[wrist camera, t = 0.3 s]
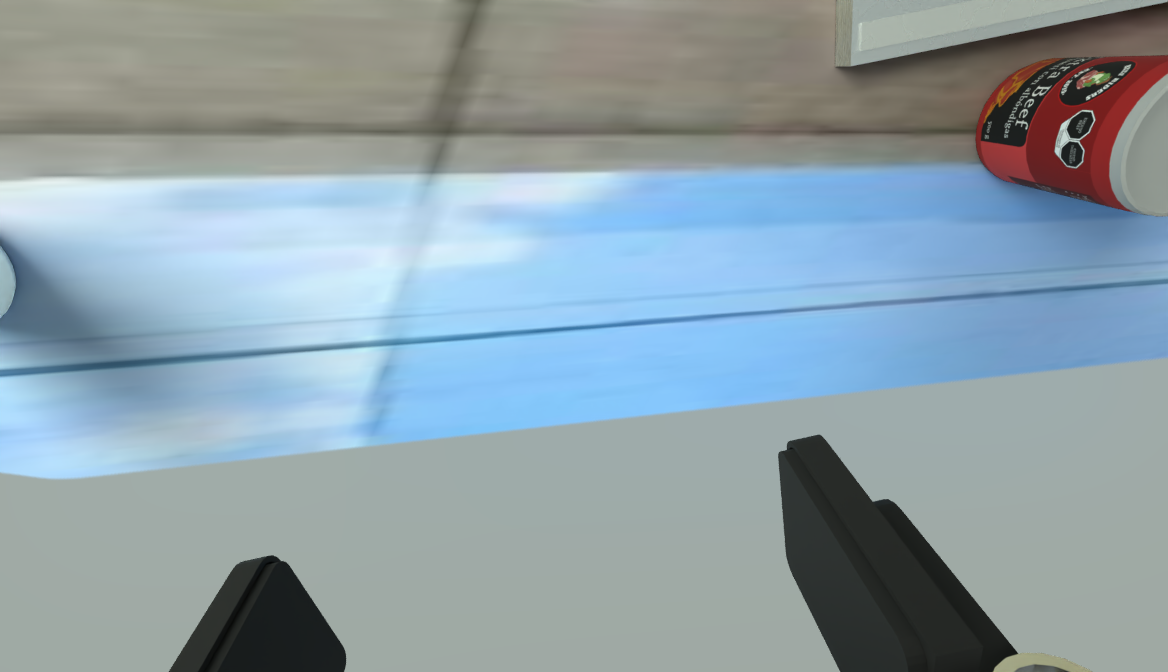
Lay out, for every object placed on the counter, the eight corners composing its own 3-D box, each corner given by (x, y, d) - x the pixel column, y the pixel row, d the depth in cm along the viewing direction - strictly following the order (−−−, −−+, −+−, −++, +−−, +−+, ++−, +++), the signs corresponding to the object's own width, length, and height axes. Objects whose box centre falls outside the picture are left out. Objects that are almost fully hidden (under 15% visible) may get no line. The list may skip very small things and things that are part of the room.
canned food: (1056, 30, 35) (1255, 15, 25) (1100, 124, 38) (1295, 144, 28) (950, 119, 37) (1097, 138, 27) (1000, 202, 40) (1149, 246, 30)
